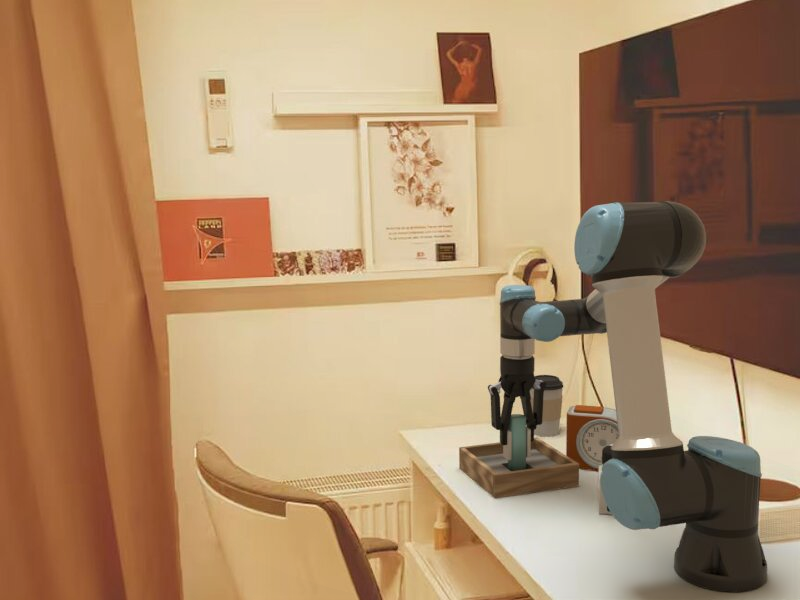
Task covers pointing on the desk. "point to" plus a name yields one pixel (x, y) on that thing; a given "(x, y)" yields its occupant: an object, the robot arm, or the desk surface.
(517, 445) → the peg
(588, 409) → the alarm clock
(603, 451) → the container
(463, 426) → the desk surface
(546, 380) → the coffee cup
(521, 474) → the socket box
